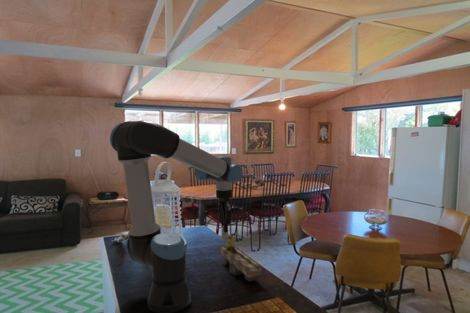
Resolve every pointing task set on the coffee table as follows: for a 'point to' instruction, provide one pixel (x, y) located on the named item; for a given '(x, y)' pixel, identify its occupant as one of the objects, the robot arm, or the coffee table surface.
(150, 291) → the robot arm
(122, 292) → the coffee table surface
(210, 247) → the coffee table surface
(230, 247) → the rider
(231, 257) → the stand
